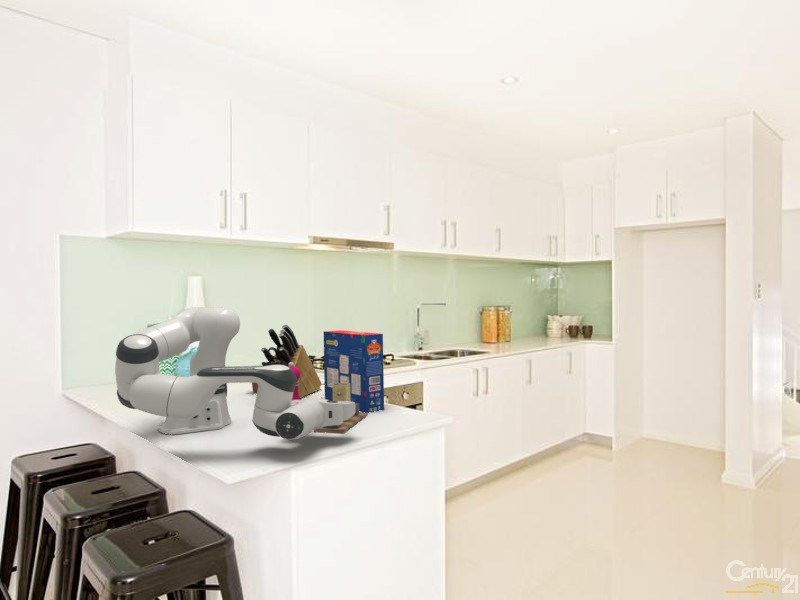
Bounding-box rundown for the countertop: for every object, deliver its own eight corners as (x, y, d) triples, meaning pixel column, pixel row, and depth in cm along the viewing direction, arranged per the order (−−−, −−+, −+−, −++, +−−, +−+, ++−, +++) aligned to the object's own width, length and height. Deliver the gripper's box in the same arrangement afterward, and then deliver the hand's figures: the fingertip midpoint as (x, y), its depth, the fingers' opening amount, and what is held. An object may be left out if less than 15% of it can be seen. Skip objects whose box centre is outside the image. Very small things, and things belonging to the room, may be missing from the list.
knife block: (259, 405, 210) (258, 325, 210) (298, 388, 244) (297, 320, 244) (286, 406, 207) (284, 325, 207) (322, 389, 241) (320, 320, 241)
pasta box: (384, 410, 198) (382, 333, 197) (366, 413, 193) (365, 335, 192) (341, 399, 219) (340, 330, 219) (324, 401, 214) (323, 331, 214)
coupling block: (345, 422, 175) (345, 385, 175) (332, 421, 176) (332, 385, 176) (351, 418, 180) (350, 382, 180) (338, 418, 181) (337, 382, 181)
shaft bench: (343, 433, 166) (343, 418, 166) (313, 431, 168) (313, 417, 168) (367, 415, 189) (367, 402, 189) (340, 414, 191) (340, 401, 191)
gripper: (279, 422, 157) (299, 412, 170) (346, 425, 152) (361, 414, 166) (278, 400, 157) (299, 392, 170) (345, 402, 152) (361, 393, 165)
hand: (330, 403), depth 168 cm, fingers open, 8 cm apart
